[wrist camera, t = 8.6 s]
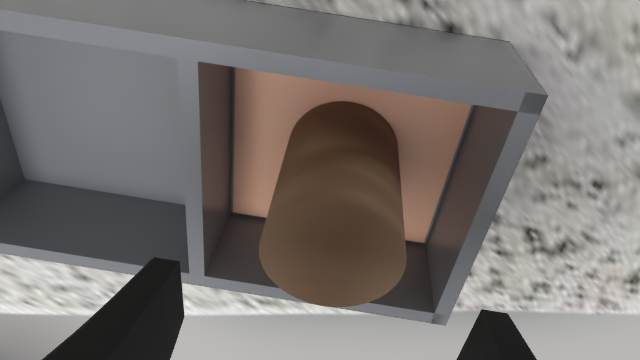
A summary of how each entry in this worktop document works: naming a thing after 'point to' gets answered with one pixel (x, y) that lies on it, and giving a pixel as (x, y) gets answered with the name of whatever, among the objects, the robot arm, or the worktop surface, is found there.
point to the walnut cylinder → (337, 209)
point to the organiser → (242, 134)
